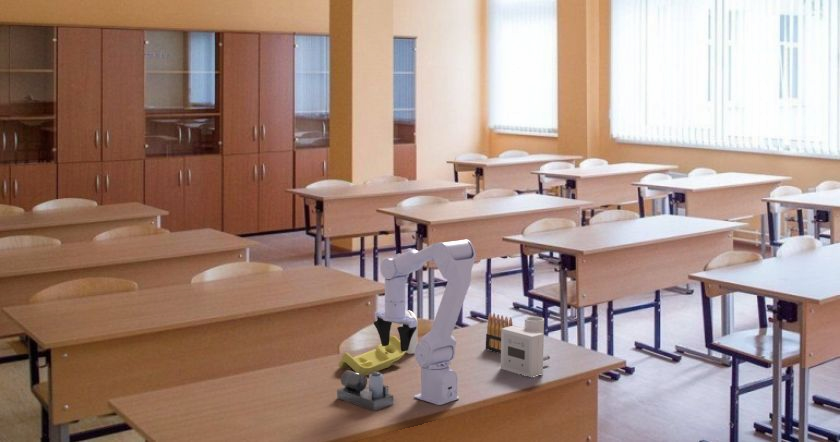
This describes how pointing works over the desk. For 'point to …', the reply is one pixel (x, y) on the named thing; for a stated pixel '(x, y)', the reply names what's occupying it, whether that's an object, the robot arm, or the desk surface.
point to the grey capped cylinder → (376, 384)
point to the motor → (361, 392)
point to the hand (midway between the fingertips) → (394, 348)
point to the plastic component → (374, 358)
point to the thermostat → (523, 347)
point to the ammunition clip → (495, 331)
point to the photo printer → (415, 336)
